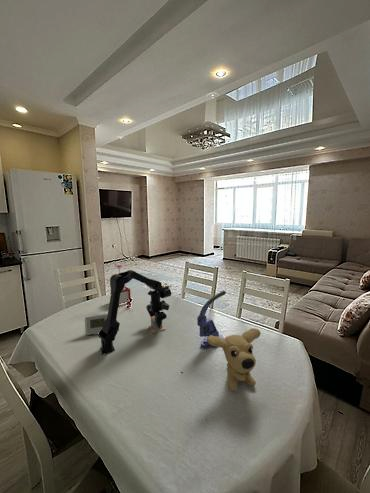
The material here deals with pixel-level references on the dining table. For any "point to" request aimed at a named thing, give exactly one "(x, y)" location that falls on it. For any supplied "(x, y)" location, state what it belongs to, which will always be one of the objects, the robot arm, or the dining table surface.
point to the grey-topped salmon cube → (154, 323)
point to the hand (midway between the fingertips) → (156, 324)
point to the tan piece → (156, 330)
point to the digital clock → (94, 323)
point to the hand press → (208, 323)
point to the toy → (238, 356)
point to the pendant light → (124, 291)
